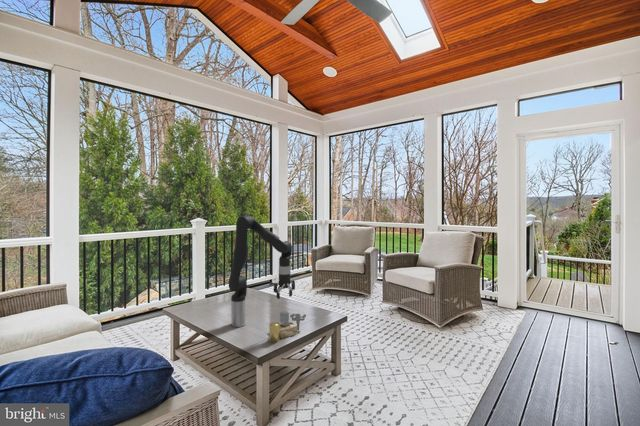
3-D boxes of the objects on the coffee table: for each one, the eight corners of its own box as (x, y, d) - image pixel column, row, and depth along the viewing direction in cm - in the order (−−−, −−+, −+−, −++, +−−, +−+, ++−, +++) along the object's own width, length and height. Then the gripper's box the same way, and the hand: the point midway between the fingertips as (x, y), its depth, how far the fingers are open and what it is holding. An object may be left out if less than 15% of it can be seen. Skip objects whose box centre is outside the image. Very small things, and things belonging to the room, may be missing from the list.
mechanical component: (305, 329, 208) (305, 314, 207) (290, 330, 207) (290, 315, 207) (305, 328, 211) (305, 313, 210) (290, 328, 210) (290, 313, 210)
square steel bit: (280, 330, 204) (280, 312, 203) (285, 329, 206) (285, 311, 205) (283, 333, 201) (283, 314, 200) (288, 331, 203) (288, 313, 202)
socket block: (271, 331, 205) (271, 324, 205) (288, 327, 212) (288, 320, 211) (280, 338, 195) (280, 330, 195) (297, 333, 202) (297, 326, 202)
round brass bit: (268, 339, 194) (267, 323, 193) (276, 337, 197) (276, 321, 196) (272, 343, 189) (272, 326, 188) (281, 340, 192) (281, 324, 192)
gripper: (291, 270, 210) (291, 294, 211) (271, 272, 202) (271, 297, 203) (297, 272, 204) (296, 297, 204) (277, 275, 196) (276, 301, 197)
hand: (284, 297), depth 204 cm, fingers open, 8 cm apart
